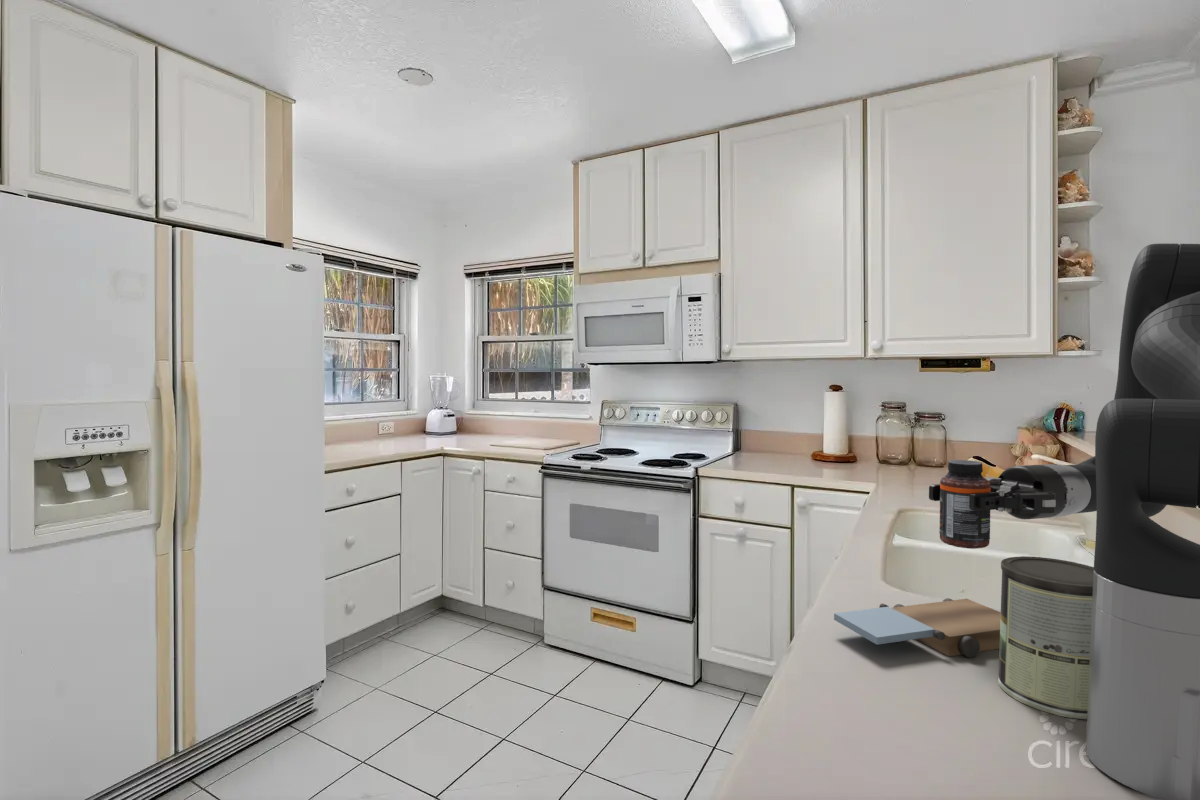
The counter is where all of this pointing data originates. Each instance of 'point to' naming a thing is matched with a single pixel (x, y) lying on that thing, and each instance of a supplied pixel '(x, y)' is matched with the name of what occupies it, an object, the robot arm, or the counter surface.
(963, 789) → the counter surface
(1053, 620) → the coffee can
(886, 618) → the panel
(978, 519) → the supplement bottle
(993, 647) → the flatbed
